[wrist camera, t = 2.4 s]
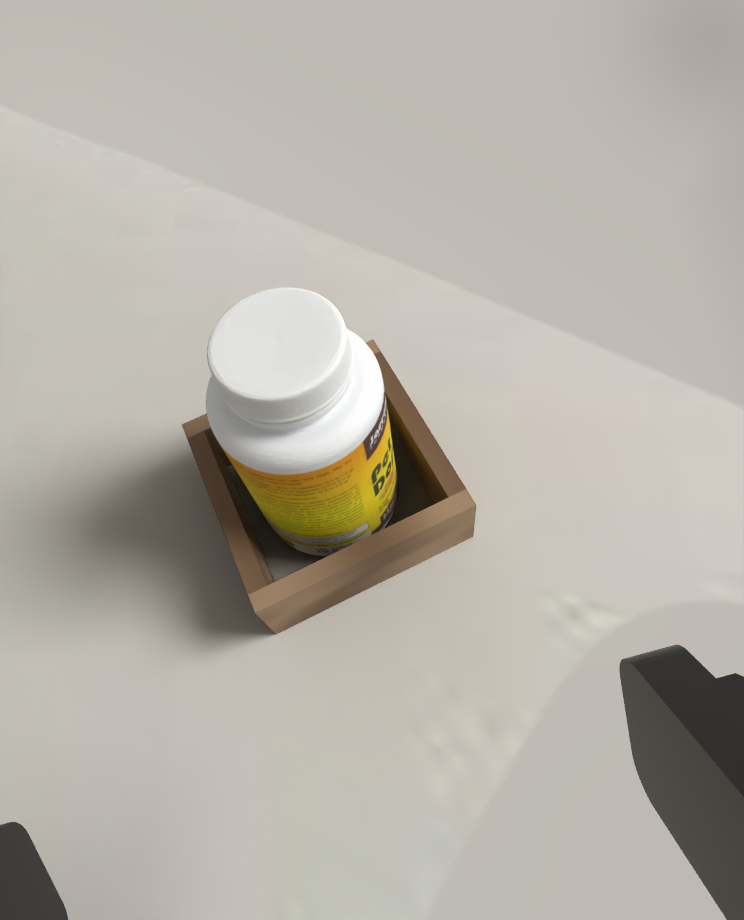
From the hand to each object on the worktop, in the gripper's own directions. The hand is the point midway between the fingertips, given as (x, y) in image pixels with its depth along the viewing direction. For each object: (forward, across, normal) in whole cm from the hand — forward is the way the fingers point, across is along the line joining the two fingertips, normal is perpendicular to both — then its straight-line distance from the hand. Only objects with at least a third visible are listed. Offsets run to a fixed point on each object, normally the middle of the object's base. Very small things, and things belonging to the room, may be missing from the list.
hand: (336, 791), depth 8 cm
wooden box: (+18, 0, +2) cm, 19 cm away
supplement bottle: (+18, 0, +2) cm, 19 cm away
